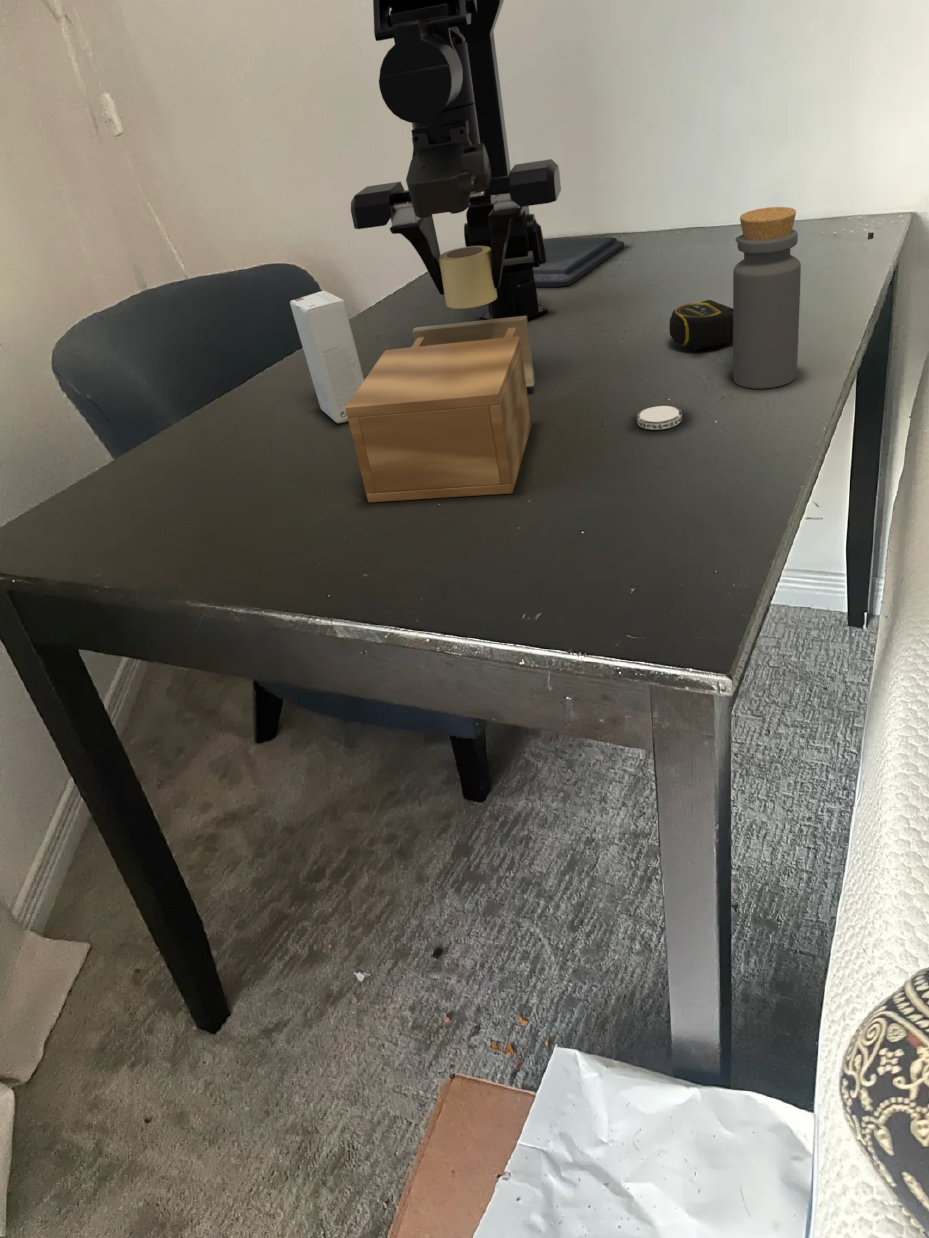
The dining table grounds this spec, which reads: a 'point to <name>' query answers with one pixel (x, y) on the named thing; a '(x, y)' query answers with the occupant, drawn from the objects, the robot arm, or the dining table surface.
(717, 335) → the tape measure
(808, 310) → the dining table surface
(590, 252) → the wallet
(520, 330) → the drawer
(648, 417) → the cream flat disc
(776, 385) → the bottle
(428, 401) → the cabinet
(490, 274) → the tape roll
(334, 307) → the cosmetic box
